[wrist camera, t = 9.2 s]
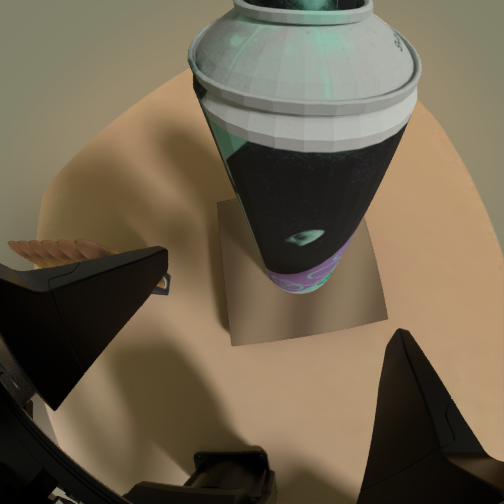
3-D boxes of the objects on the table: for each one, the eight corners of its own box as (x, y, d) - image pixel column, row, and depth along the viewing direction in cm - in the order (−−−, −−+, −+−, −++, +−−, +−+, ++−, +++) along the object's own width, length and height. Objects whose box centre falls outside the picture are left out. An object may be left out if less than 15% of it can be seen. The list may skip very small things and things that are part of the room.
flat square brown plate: (238, 345, 22) (231, 346, 20) (223, 214, 26) (217, 202, 24) (378, 321, 21) (388, 319, 19) (348, 194, 25) (352, 180, 23)
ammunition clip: (85, 286, 26) (0, 253, 15) (87, 270, 27) (6, 231, 15) (168, 295, 24) (82, 257, 13) (171, 275, 25) (89, 226, 14)
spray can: (292, 309, 20) (284, -18, 1) (249, 253, 22) (116, -22, 3) (348, 264, 20) (486, -7, 2) (303, 213, 22) (301, -66, 3)
